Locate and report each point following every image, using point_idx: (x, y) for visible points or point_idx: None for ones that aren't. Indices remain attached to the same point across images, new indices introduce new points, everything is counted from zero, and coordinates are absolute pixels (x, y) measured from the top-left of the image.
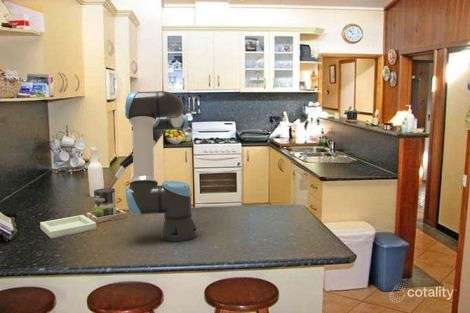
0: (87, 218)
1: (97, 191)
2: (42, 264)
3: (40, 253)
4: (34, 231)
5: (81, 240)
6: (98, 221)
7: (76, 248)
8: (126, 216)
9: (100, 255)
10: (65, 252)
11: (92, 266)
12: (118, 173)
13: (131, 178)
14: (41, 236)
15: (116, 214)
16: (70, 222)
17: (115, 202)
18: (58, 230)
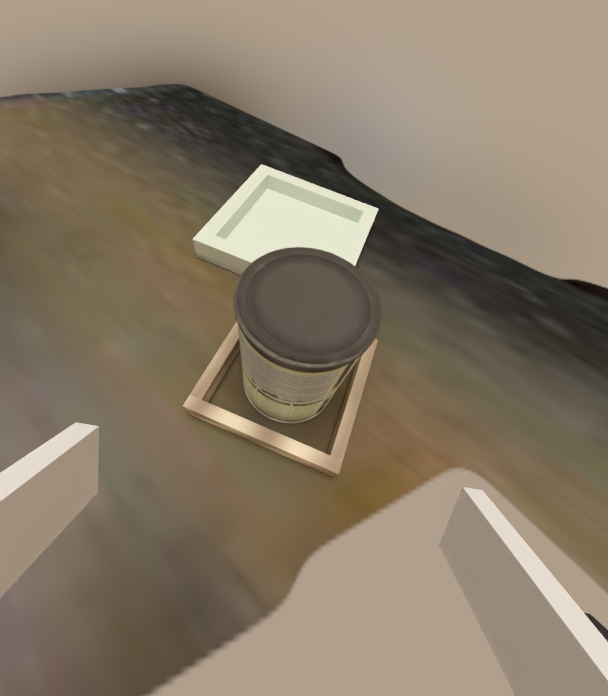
0: None
1: (325, 267)
2: (136, 99)
3: (193, 128)
4: None
5: (164, 187)
6: None
7: (131, 152)
8: (187, 411)
9: (28, 133)
10: (139, 136)
11: (9, 99)
12: (494, 553)
13: (73, 431)
14: None
15: (213, 361)
16: None
17: (252, 378)
18: (251, 175)
